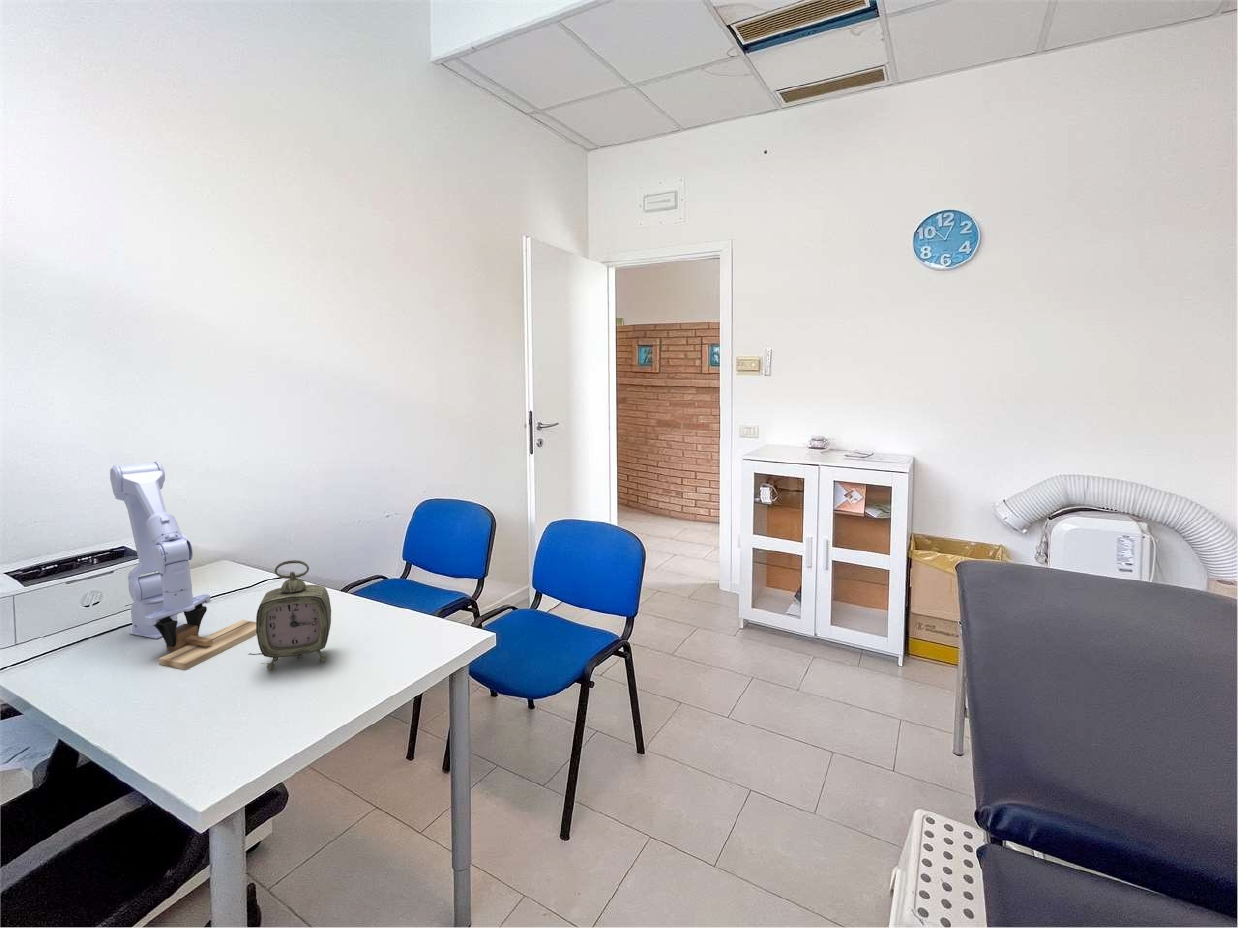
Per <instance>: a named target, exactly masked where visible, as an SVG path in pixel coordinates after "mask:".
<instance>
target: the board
mask: <svg viewBox="0 0 1238 928" xmlns="http://www.w3.org/2000/svg"><path fill="white" fill-rule="evenodd" d="M255 636H257V633H256V621H252V620H245V619H242V620H239V621H237V622H234V623H232V624H230V625H228V626H226V627H224V628H222V629H220V630H218V631H215V632H213V633H212V634H209V635H207V636H205V637H204V636H203V637H204V638H210V639H212V643H213V644H211V645H209V646H201V645H195V644H189V645H187V646H185V647H183V648H181V649H178V650H176V651H174V652H169V653H167V654H165V655H164V656H161V657H160V658H158V665H160V666H165V667H170V668H174V669H179V670H185V671H187V670H188V669H191V668H193V667H195V666H197V665H198V664H200V663H203V662H205V661H207V660H208V659H210V658H211V659H212V657H215V656H216V655H219V654H221V653H222V652H224V651H227V650H228V649H230V648H232V647H234V646H237V645H239V644H240V643H243V642H244V641H247V640H249V639H250V638H252V637H255Z"/></svg>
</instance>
